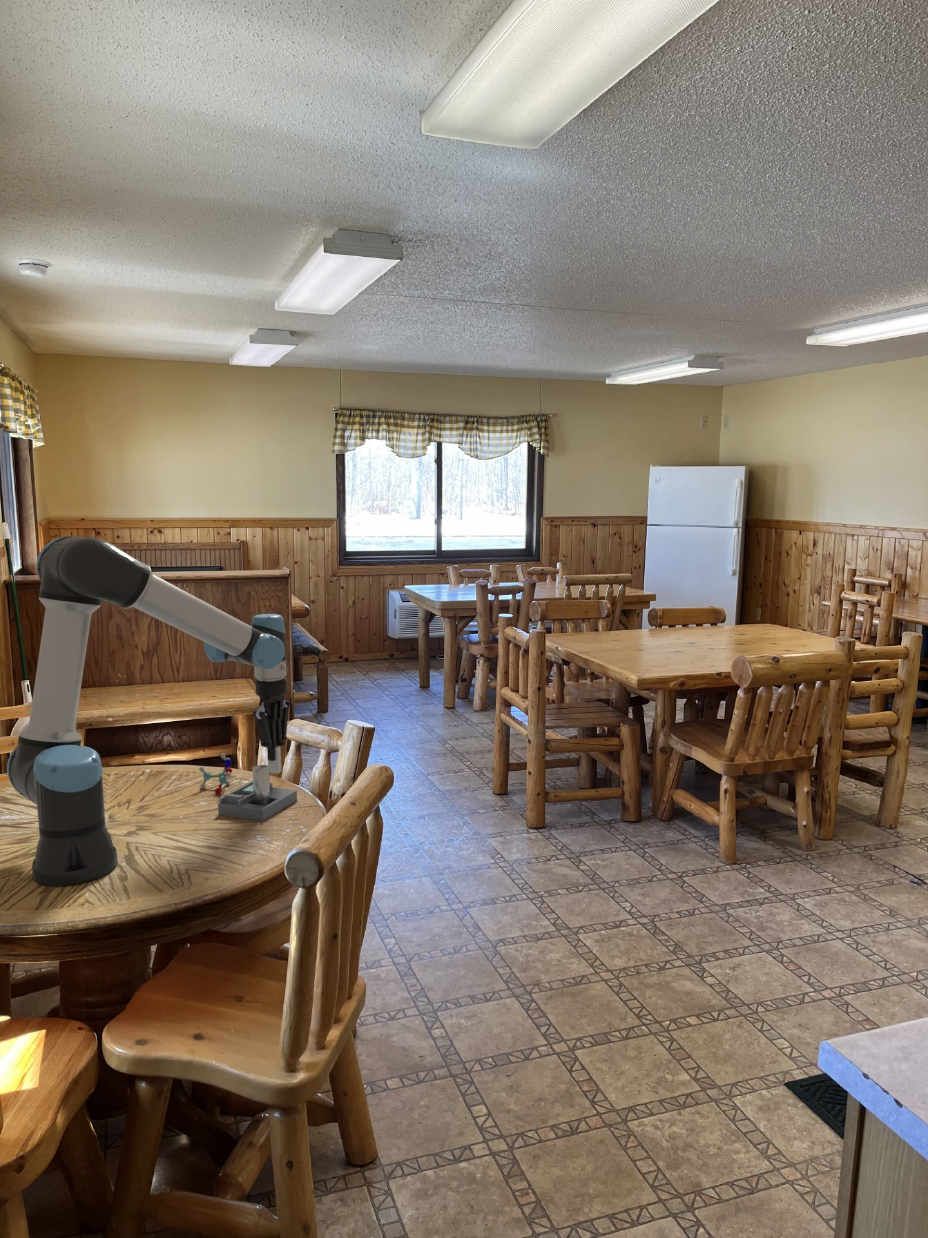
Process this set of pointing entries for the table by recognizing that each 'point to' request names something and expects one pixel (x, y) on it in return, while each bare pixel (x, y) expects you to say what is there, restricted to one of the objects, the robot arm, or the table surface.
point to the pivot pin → (261, 785)
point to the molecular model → (221, 776)
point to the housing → (244, 803)
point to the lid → (251, 788)
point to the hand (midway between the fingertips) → (275, 772)
